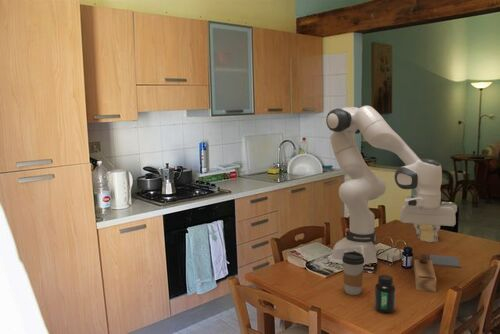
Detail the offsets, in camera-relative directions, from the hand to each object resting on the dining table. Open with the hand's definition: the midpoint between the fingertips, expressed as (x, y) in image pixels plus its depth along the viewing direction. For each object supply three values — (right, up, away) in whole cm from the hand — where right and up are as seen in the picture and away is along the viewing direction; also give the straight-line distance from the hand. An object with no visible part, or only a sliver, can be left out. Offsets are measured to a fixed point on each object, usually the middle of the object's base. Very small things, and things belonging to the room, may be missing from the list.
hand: (426, 234), depth 168 cm
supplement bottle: (-22, -24, -16) cm, 36 cm away
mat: (+19, -16, +25) cm, 35 cm away
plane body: (+2, -20, +6) cm, 21 cm away
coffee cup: (-30, -22, -2) cm, 37 cm away
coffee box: (+23, -12, +55) cm, 61 cm away
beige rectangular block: (0, -1, 0) cm, 1 cm away
